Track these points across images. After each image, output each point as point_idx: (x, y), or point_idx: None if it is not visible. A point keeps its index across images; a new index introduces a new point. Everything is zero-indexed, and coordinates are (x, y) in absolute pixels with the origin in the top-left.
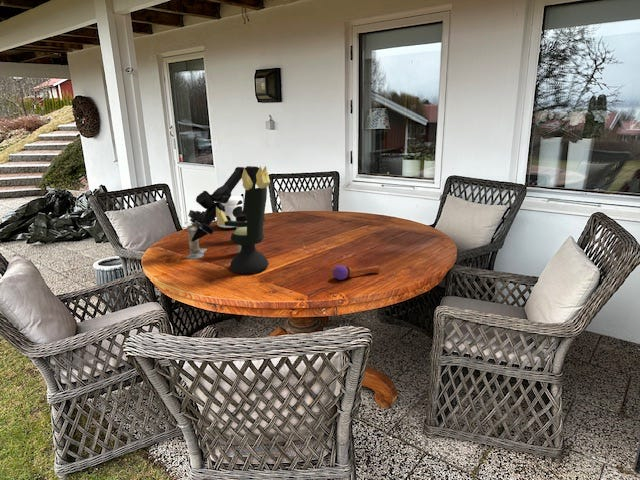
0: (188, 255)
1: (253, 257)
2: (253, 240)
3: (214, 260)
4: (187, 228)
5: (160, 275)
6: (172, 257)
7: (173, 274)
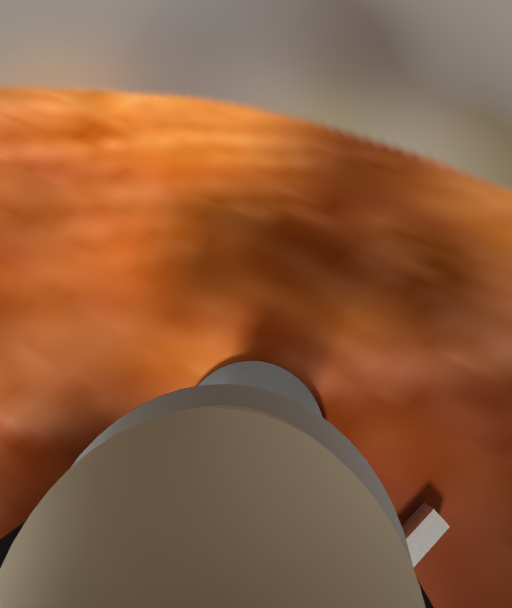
0: (297, 394)
1: None
2: None
3: (25, 501)
4: (238, 406)
5: (90, 111)
6: (366, 294)
7: (39, 160)
